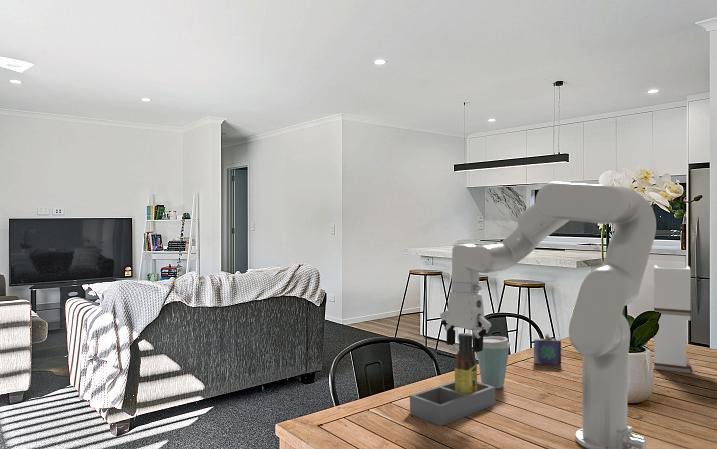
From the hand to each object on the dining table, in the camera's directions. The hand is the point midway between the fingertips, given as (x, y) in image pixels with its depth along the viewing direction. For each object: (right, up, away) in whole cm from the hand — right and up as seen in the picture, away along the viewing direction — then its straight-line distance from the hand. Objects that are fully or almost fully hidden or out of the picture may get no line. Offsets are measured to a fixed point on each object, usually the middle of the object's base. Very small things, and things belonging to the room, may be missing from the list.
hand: (464, 347), depth 147 cm
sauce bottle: (+1, -16, 0) cm, 16 cm away
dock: (-4, -16, -4) cm, 17 cm away
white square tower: (+80, -15, +35) cm, 89 cm away
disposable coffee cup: (+12, -16, +16) cm, 26 cm away
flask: (+38, -15, +39) cm, 56 cm away
